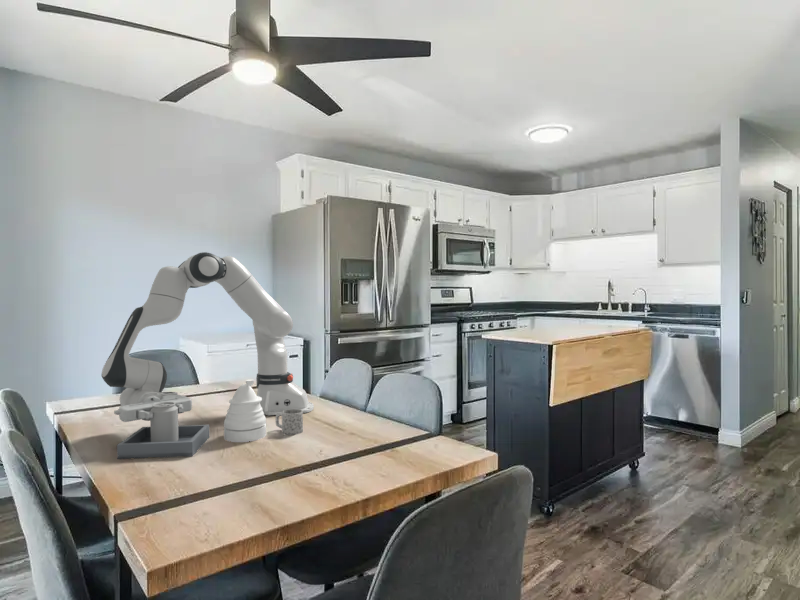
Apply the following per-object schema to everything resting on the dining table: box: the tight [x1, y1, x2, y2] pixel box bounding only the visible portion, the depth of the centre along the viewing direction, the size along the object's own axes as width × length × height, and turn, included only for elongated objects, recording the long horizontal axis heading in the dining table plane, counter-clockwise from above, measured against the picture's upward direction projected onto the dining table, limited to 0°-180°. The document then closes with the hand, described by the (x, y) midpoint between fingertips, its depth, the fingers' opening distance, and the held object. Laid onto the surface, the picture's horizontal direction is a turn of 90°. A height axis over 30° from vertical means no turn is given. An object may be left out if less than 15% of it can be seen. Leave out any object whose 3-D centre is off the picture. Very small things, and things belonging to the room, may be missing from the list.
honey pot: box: [223, 379, 267, 443], centre depth 162 cm, size 13×13×18 cm
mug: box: [275, 409, 304, 436], centre depth 167 cm, size 10×7×7 cm
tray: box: [116, 424, 211, 460], centre depth 151 cm, size 20×18×4 cm
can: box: [149, 402, 179, 442], centre depth 151 cm, size 8×8×12 cm
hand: (166, 413), depth 150 cm, fingers open, 7 cm apart
